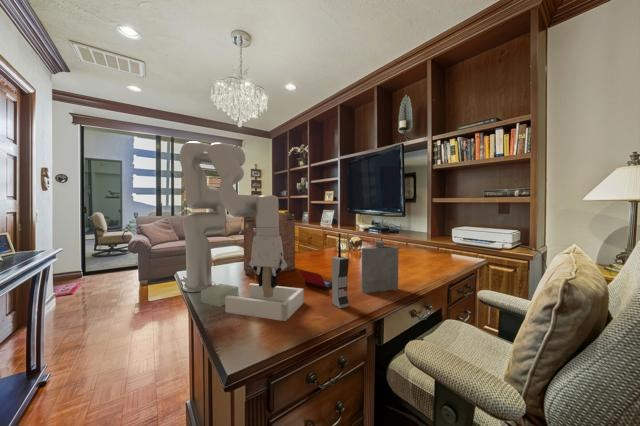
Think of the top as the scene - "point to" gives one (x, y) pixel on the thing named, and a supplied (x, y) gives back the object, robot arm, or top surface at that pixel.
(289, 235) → the book
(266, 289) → the handle
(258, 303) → the cubby
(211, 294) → the sage block
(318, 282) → the handheld game console
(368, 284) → the hip flask
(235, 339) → the top surface
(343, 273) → the grey brick cell phone
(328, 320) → the top surface
